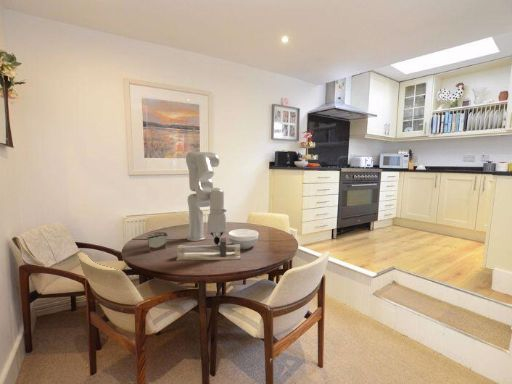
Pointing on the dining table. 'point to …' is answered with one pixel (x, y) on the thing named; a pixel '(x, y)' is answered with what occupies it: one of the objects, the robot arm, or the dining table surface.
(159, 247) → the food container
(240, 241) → the bowl
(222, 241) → the collar
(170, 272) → the dining table surface
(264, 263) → the dining table surface
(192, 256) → the pipe rig
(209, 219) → the robot arm
